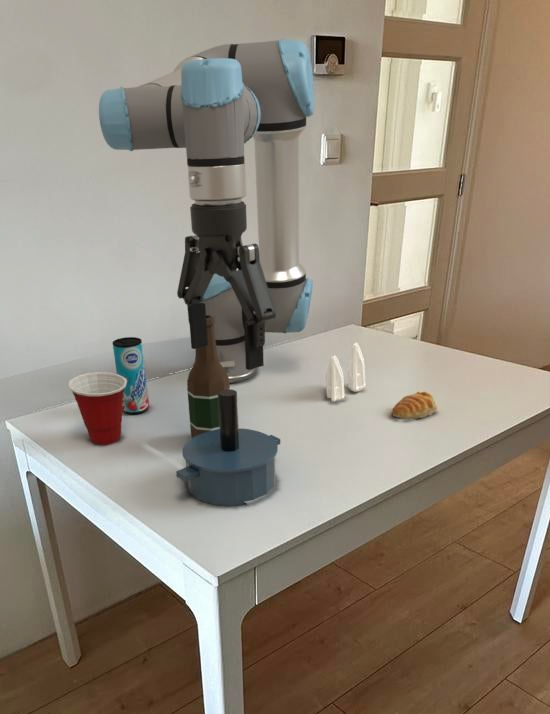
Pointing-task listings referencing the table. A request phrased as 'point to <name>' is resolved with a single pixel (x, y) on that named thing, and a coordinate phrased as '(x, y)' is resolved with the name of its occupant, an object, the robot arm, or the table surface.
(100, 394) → the plastic cup
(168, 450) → the table surface
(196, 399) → the beer bottle
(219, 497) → the pot
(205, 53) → the robot arm
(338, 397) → the shaker set
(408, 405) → the pastry
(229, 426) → the lid
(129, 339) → the beverage can
